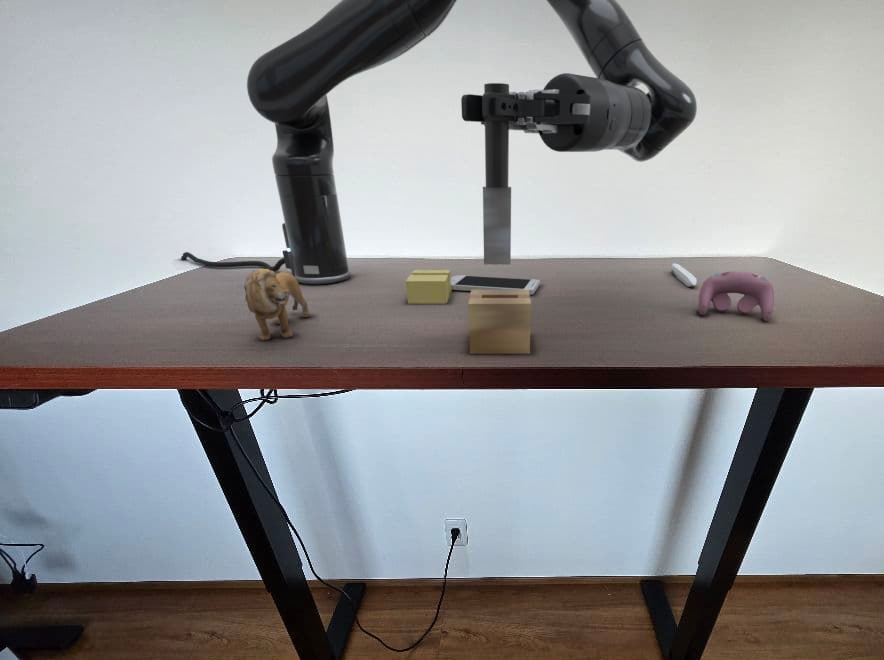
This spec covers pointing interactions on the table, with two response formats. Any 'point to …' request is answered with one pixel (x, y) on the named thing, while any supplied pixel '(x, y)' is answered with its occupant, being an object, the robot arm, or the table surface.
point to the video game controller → (737, 282)
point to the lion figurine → (273, 299)
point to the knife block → (499, 321)
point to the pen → (684, 275)
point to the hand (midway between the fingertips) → (475, 107)
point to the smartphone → (493, 283)
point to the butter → (428, 287)
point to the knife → (497, 188)
